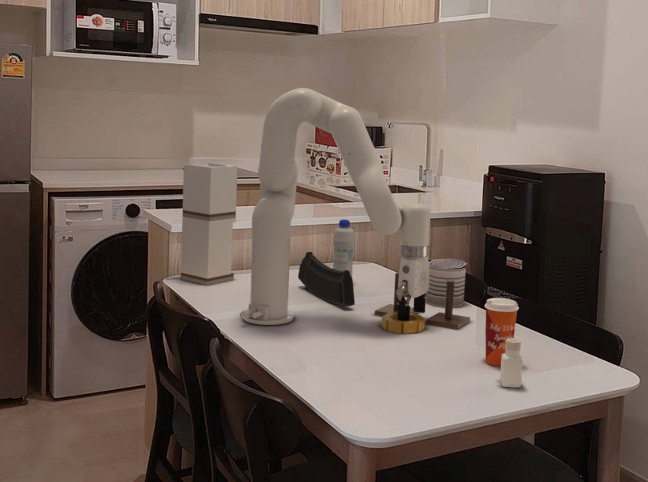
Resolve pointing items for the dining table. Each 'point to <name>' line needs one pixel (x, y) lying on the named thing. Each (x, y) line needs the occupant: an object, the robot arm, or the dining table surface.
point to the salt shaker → (511, 364)
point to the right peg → (448, 312)
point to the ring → (403, 323)
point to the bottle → (343, 247)
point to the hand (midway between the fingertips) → (411, 316)
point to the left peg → (390, 307)
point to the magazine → (326, 281)
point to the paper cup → (499, 327)
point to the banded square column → (208, 222)
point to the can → (438, 281)
